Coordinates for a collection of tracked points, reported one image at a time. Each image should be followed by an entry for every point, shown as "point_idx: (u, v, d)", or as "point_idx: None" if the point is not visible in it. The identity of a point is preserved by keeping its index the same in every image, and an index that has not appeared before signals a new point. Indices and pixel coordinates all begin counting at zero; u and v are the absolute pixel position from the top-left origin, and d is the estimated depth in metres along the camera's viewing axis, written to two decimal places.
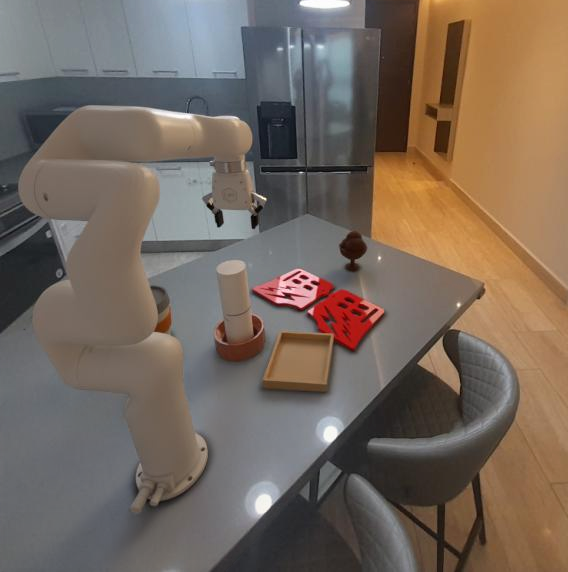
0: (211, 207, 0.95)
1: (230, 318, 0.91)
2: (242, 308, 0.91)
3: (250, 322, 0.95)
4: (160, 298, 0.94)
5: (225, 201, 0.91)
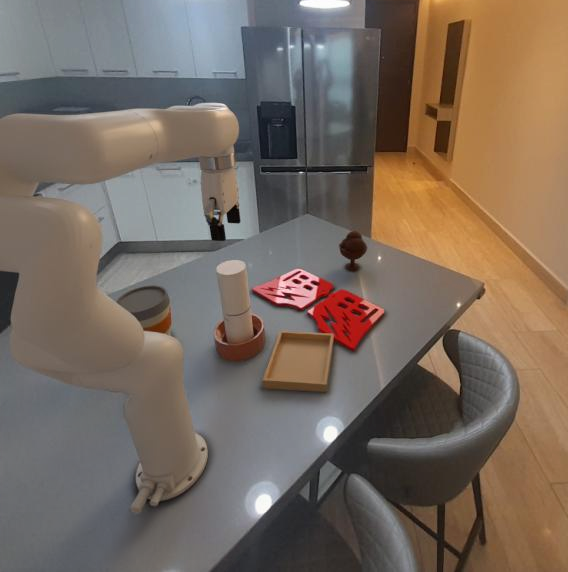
0: None
1: (230, 318, 0.91)
2: (242, 308, 0.91)
3: (250, 322, 0.95)
4: (160, 298, 0.94)
5: None
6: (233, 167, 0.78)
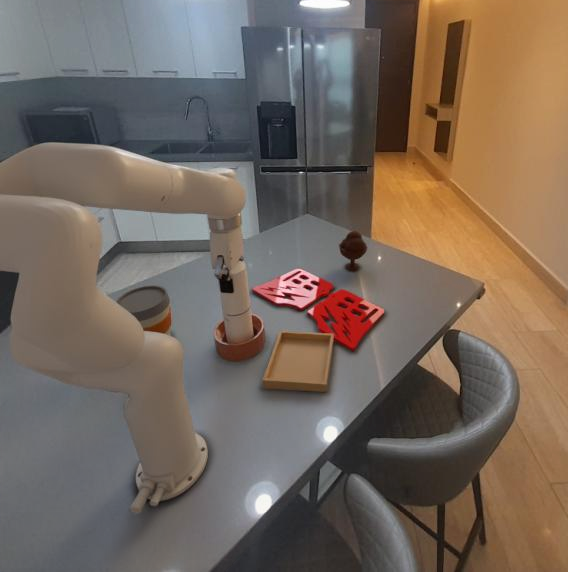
0: None
1: (230, 318, 0.91)
2: (242, 308, 0.91)
3: (250, 322, 0.95)
4: (160, 298, 0.94)
5: None
6: (239, 226, 0.83)
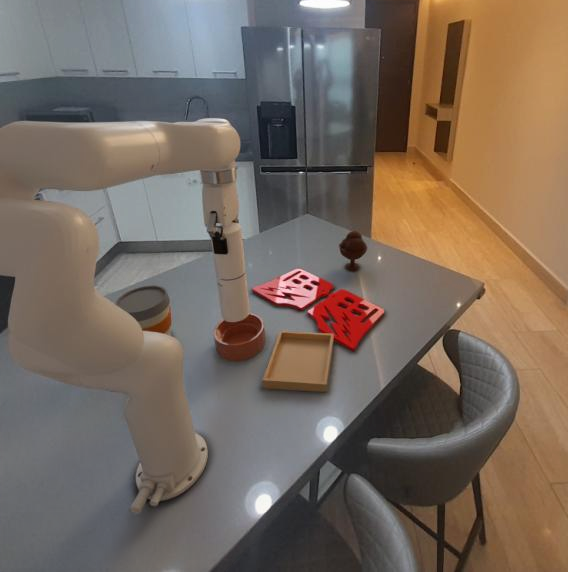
0: None
1: (224, 283, 0.86)
2: (237, 272, 0.86)
3: (245, 289, 0.90)
4: (160, 298, 0.94)
5: None
6: (234, 181, 0.79)
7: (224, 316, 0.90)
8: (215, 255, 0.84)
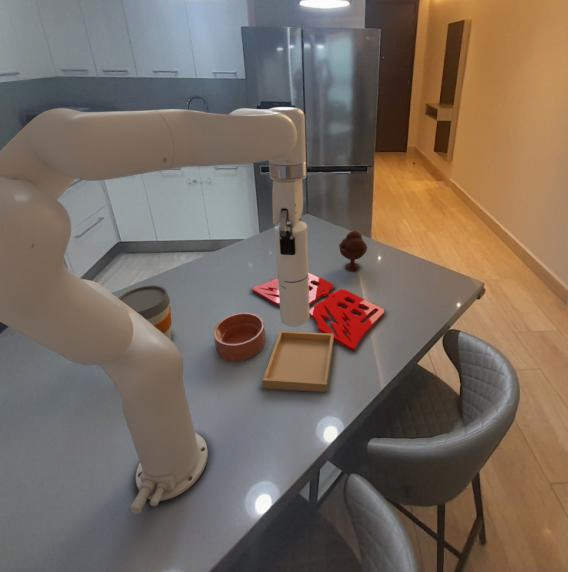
0: None
1: (288, 285, 0.80)
2: (302, 274, 0.80)
3: (308, 291, 0.84)
4: (160, 298, 0.94)
5: None
6: (305, 176, 0.72)
7: (285, 320, 0.85)
8: (280, 256, 0.78)
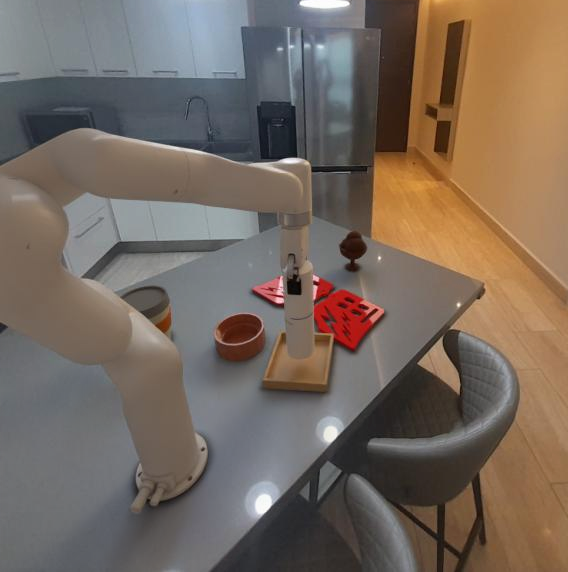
0: None
1: (294, 322, 0.84)
2: (307, 311, 0.84)
3: (313, 326, 0.88)
4: (160, 298, 0.94)
5: None
6: (311, 222, 0.76)
7: (291, 353, 0.88)
8: (287, 295, 0.81)
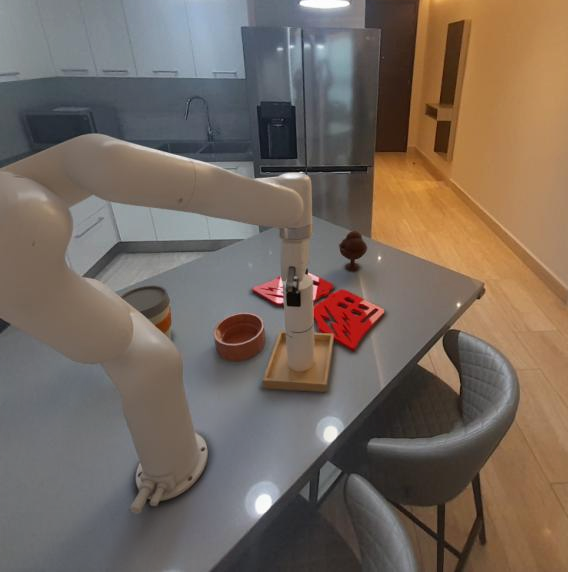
0: None
1: (295, 335, 0.85)
2: (308, 324, 0.85)
3: (313, 339, 0.89)
4: (160, 298, 0.94)
5: None
6: (311, 235, 0.77)
7: (291, 365, 0.90)
8: (288, 309, 0.83)
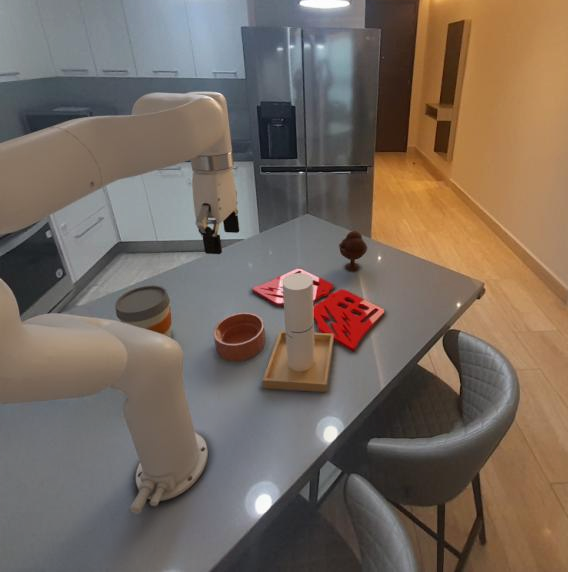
0: None
1: (295, 335, 0.85)
2: (308, 324, 0.85)
3: (313, 339, 0.89)
4: (160, 298, 0.94)
5: None
6: (231, 168, 0.66)
7: (291, 365, 0.90)
8: (288, 309, 0.83)
